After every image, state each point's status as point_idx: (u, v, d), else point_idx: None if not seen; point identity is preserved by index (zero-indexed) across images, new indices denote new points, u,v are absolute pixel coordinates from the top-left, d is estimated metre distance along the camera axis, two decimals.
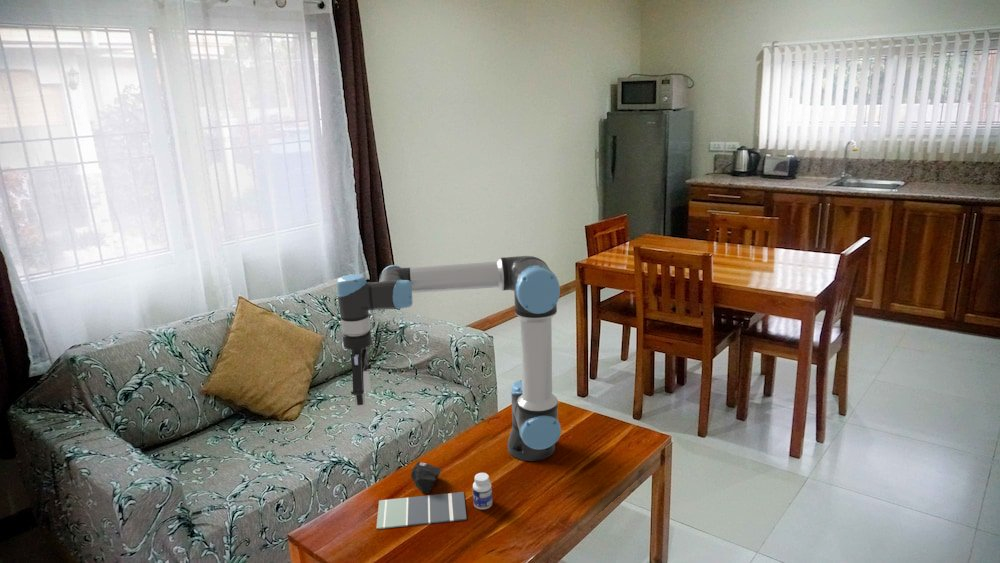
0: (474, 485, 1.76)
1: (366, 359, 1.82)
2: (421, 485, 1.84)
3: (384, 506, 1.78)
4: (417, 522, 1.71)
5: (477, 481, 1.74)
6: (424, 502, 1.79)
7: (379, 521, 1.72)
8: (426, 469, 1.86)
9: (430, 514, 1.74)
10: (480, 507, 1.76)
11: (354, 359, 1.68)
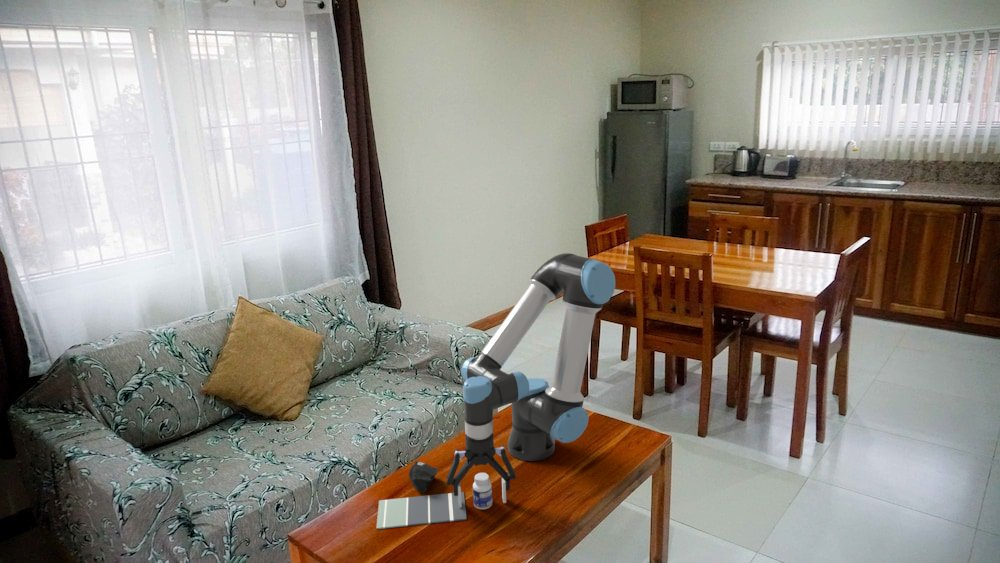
0: (474, 485, 1.76)
1: (500, 469, 1.75)
2: (417, 485, 1.84)
3: (384, 506, 1.78)
4: (417, 522, 1.71)
5: (477, 481, 1.74)
6: (424, 502, 1.79)
7: (379, 521, 1.72)
8: (423, 469, 1.87)
9: (430, 514, 1.74)
10: (480, 507, 1.76)
11: None
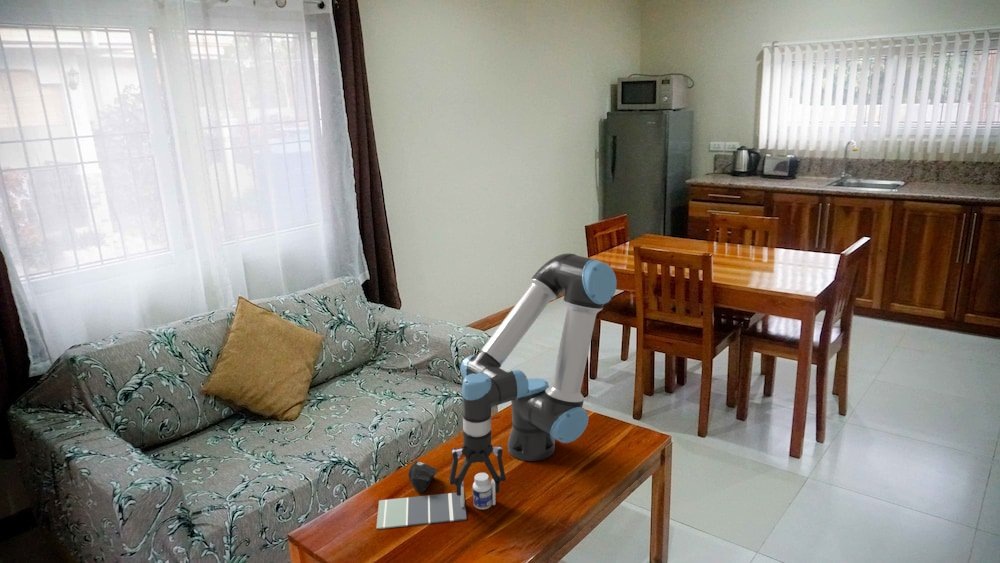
0: (474, 485, 1.76)
1: (493, 470, 1.74)
2: (416, 485, 1.84)
3: (384, 506, 1.78)
4: (417, 522, 1.71)
5: (477, 481, 1.74)
6: (424, 502, 1.79)
7: (379, 521, 1.72)
8: (422, 469, 1.87)
9: (430, 514, 1.74)
10: (480, 507, 1.76)
11: (452, 451, 1.73)
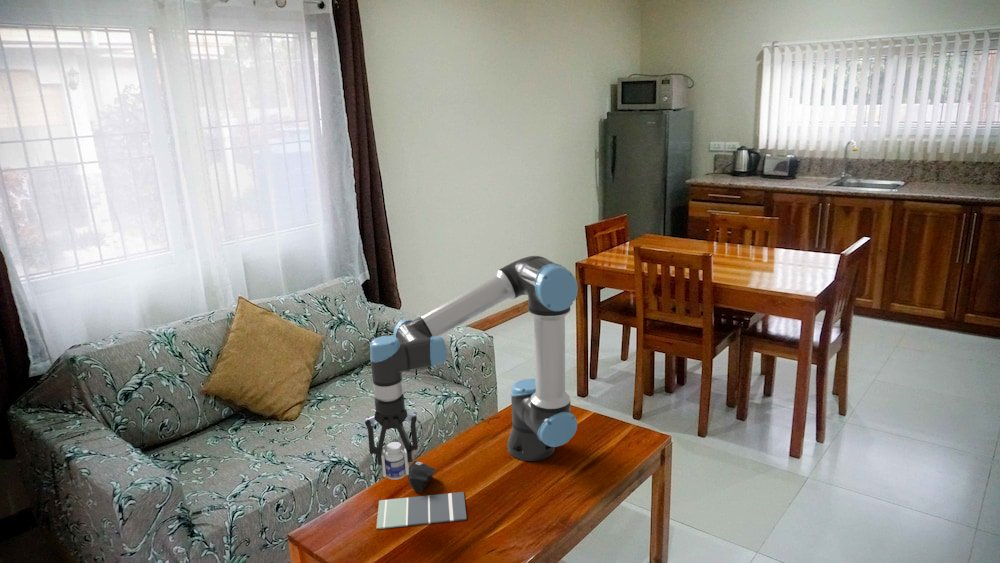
0: (386, 454, 1.70)
1: (405, 437, 1.68)
2: (413, 484, 1.84)
3: (384, 506, 1.78)
4: (417, 522, 1.71)
5: (388, 450, 1.69)
6: (424, 502, 1.79)
7: (379, 521, 1.72)
8: (420, 469, 1.87)
9: (430, 514, 1.74)
10: (392, 477, 1.70)
11: (365, 420, 1.67)
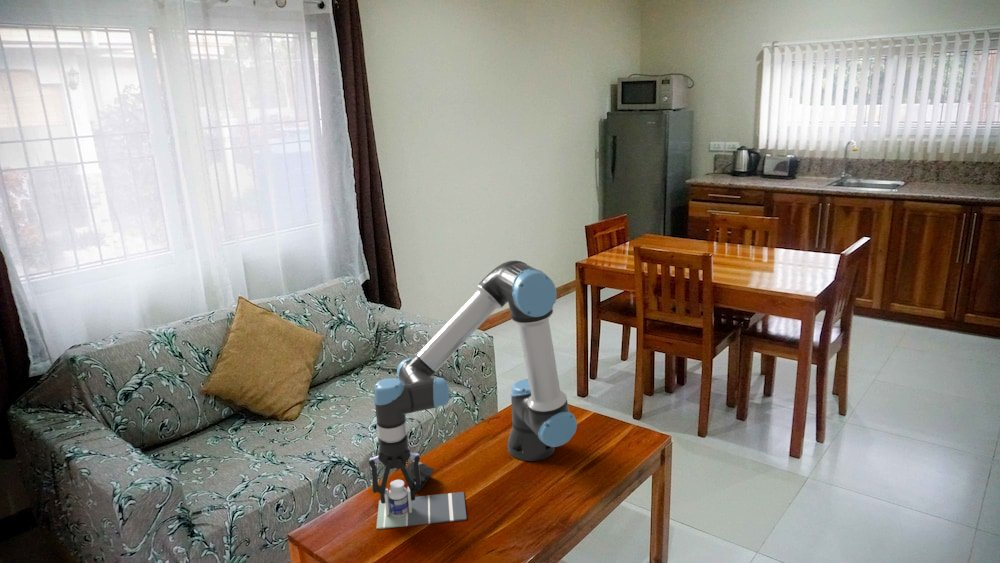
0: (389, 492, 1.73)
1: (409, 477, 1.72)
2: None
3: (384, 506, 1.78)
4: (417, 522, 1.71)
5: (392, 488, 1.72)
6: (424, 502, 1.79)
7: (379, 521, 1.72)
8: None
9: (430, 514, 1.74)
10: (395, 515, 1.73)
11: None
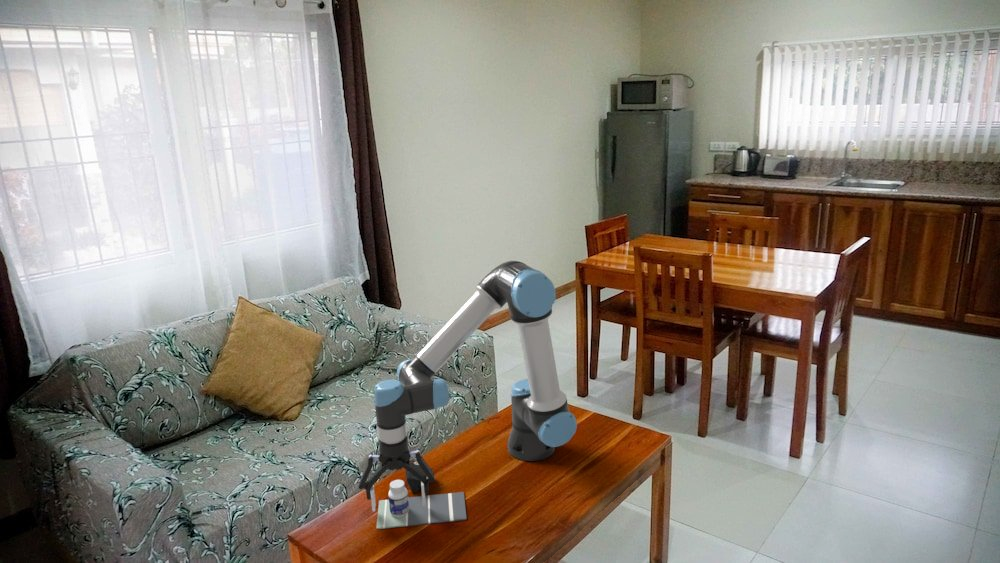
0: (389, 492, 1.73)
1: (417, 472, 1.72)
2: (410, 484, 1.85)
3: (384, 506, 1.78)
4: (417, 522, 1.71)
5: (392, 488, 1.72)
6: None
7: (379, 521, 1.72)
8: None
9: (430, 514, 1.74)
10: (395, 515, 1.73)
11: None
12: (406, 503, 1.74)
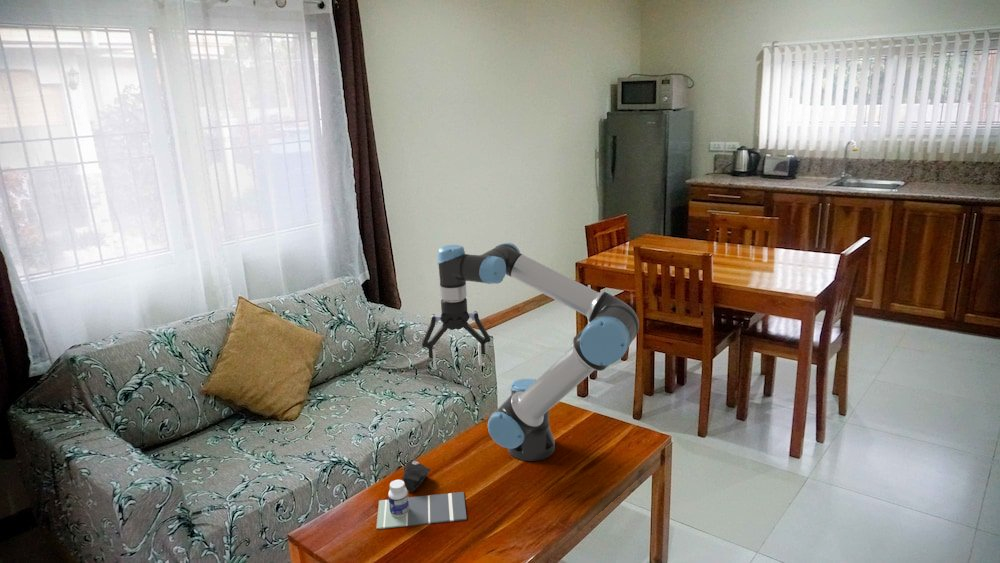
0: (389, 492, 1.73)
1: (475, 332, 1.88)
2: (406, 483, 1.85)
3: (384, 506, 1.78)
4: (417, 522, 1.71)
5: (392, 488, 1.72)
6: (424, 502, 1.79)
7: (379, 521, 1.72)
8: (414, 469, 1.87)
9: (430, 514, 1.74)
10: (395, 515, 1.73)
11: (431, 316, 1.87)
12: (406, 503, 1.74)
